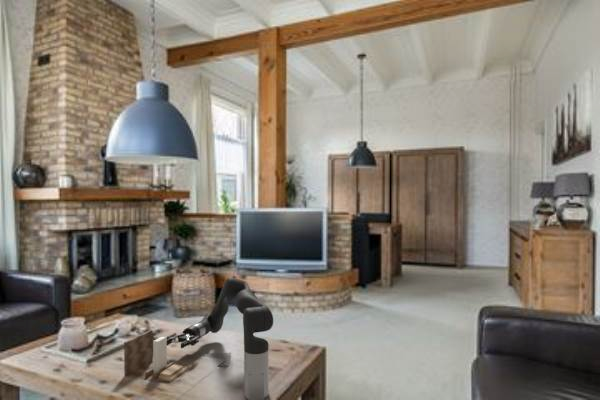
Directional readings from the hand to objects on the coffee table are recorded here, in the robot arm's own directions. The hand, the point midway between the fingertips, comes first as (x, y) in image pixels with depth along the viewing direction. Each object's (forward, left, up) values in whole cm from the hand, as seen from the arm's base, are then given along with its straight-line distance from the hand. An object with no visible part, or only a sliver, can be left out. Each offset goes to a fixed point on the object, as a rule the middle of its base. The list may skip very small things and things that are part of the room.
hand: (173, 344), depth 179 cm
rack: (-8, +4, -9) cm, 13 cm away
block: (-8, +4, -8) cm, 12 cm away
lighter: (+15, +15, -10) cm, 23 cm away
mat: (+4, -17, -9) cm, 20 cm away
